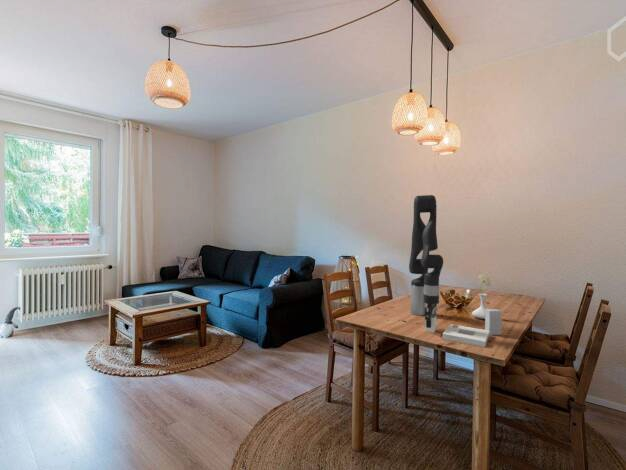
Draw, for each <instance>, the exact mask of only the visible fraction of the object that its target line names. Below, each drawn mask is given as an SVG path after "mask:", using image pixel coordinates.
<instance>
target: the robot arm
mask: <svg viewBox="0 0 626 470" xmlns="http://www.w3.org/2000/svg"><path fill="white" fill-rule="evenodd" d="M437 207H438V205H437V198H436V196H435V195H433V194H425V195H416V196H415V197H414V200H413V221H412V222H413V224H412V225H413V226H412V230H411V231H412V233H411V250H410V257H409V263H408V265H409V266H408V270H409V273H410V274H413V275H420V276H419V277H417V278H415V279H414V278H413V279H412V280H411V284H410V287H411V288H410V314H411V315H415V316H424V321H425V320H426V327H427V328H431V318H432V316H433V314H436V315H437V308H438V307H437V305H438V304H439V302H440V275H441V271H442V268H443V266H444V258H443V256H442V255H440V254H430V252H432V251H436V250H438V247H439V246H438V237H437ZM423 213H429V219H428V221H427V223H426V224H425V223H424V221H423V220H422V217H421V214H423ZM421 252H422V253H421ZM420 253H421V255H422V256H421V258H418V257H419V255H420ZM429 269H433V270H432V271H430V272H429ZM428 316H429V318H428Z"/></svg>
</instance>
